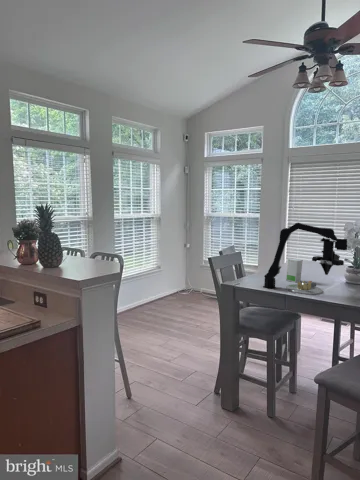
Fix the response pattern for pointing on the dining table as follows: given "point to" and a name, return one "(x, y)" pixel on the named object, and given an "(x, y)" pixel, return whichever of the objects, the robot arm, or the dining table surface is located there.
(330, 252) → the robot arm
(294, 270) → the skincare box
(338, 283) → the dining table surface
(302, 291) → the clear glass plate
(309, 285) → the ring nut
